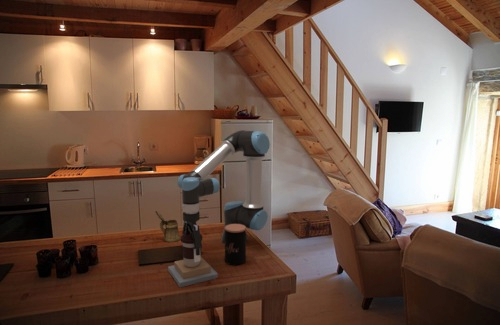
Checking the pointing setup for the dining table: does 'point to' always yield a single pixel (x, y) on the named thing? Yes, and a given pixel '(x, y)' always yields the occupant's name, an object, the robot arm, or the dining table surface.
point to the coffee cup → (189, 250)
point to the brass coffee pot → (169, 229)
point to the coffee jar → (235, 244)
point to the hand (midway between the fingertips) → (192, 255)
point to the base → (191, 280)
